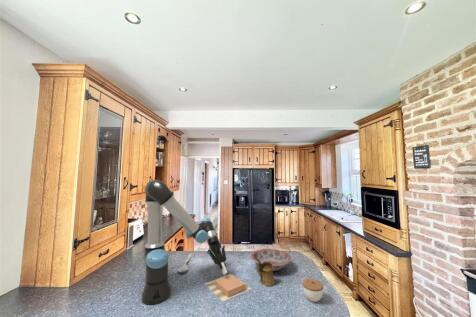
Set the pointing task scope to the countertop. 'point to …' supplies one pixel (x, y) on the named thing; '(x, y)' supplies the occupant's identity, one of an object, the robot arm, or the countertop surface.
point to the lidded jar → (312, 289)
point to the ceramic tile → (230, 285)
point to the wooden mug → (265, 273)
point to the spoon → (185, 265)
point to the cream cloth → (219, 293)
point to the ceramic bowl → (272, 258)
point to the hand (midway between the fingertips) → (225, 273)
